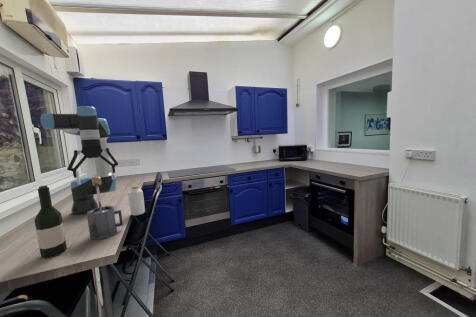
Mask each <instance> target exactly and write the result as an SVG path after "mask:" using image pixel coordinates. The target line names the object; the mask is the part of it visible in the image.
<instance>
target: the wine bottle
mask: <svg viewBox="0 0 476 317" xmlns="http://www.w3.org/2000/svg"><path fill="white" fill-rule="evenodd" d="M50 191H51V190H50V187H48V185H40V186H38V188H37V193H38V199H39V205H40V209H39V211H38V213H37V214H36V216H35V218H34V221H33V222H34V224H35V225H34V226H35V230H36V236H37V242H38V248H39V252H40V253H39V254H40V258H41V259H46V260H47V259H49V258H54V257H58V256H60V255H61V254H63V253H65V252H66V250H67V249H68V247H67V246H68V245H67V242H66V241H67V240H66V234H65V228H64V222H63V216H62V213H61V211H59V210H58V209H57V208H55V206H53V204H52V198H51V197H52V196H51V192H50Z"/></svg>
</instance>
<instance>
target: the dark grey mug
mask: <svg viewBox="0 0 476 317" xmlns="http://www.w3.org/2000/svg"><path fill="white" fill-rule="evenodd" d="M101 207H102V210H108V211H105V212H101V213H96V214H93V213H94V212H97V211H100V210H99V207H98V208H95V209H93V210H90V211H88V212H87V213H86V218H87V226H88V230H89V238H90V240H91V241H101V240H104V239H108V238H110V237H112V236H114V235H116V234H117V233H118V227H122V226H124V223H123V216H122V209H119V210H115V208H114V206H112V205H105V206H101ZM116 215H118V218H119V223H116Z"/></svg>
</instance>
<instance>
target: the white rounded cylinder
mask: <svg viewBox="0 0 476 317" xmlns="http://www.w3.org/2000/svg"><path fill="white" fill-rule="evenodd" d="M127 194H128V202H129V210H130V215H131V216H140V215H143V214H144V213H145V212H146V208H145V198H144V191H143V190H142V189H140V188H139V185H135V186H131V187H130V190H129V191H128V193H127Z"/></svg>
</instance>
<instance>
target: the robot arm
mask: <svg viewBox="0 0 476 317" xmlns="http://www.w3.org/2000/svg"><path fill="white" fill-rule="evenodd" d="M40 124H41V126H42V128H43V129H44V130H59V131H63V132H64V133H65V134H68V135H72V136H73V135H74V136H80V139H81V140H80V144H81V150H79V149H78V150H77V149H74V151H73V156H72V158H71V160H70V162H69V164H68V166H67V170H66V171H69V172H70V171H71V172H72V174H73V176H72V177H73V178H74V180H72V181H71V182H70V190H71V197H72V207H71V211H70V213H71V215H76V216H77V215H78V216H79V215H84V214H87V212H88V211H90V210H93V209H95V208H99V203H98V202H97V200H96V199H95V195H97V189H96V186H93V184H92V176H86V177H81V176H80V171H79V167H81V165H82V164H83V163H84V162H85V161H86V159H94V165H95V166H94V167H95V172H96V174H95V175H94V177H99V176H100V177H101V184H102V185H99V192H100V195H101V194H105V193H111V192H115V190H117V175H114V174H115V173H116V167H117V166H119V163H118V161H117V160H116V159H115V157H114V156H113V155H112V153H111V151H110V148H109V147H108V143H107V142H108V141H107V140H108V138H109V136H110V135H111V131H110V127H109V124H108V121H107V119H106V118H104V117H102V118H101V117H98V113H97V109H96V108H95V107H94V106H88V105H87V106H86V105H82V106H81V105H80V106H77V107H76V113H51V112H50V113H42V114H40ZM80 154H82V155H83V157H82V158H81V159H80V160H79V162H77V164H76V165H75V166H74V164H75V163H76V160H77V158H78V155H80ZM110 159H111V160H112V162H111V160H110ZM73 166H74V167H73Z"/></svg>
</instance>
